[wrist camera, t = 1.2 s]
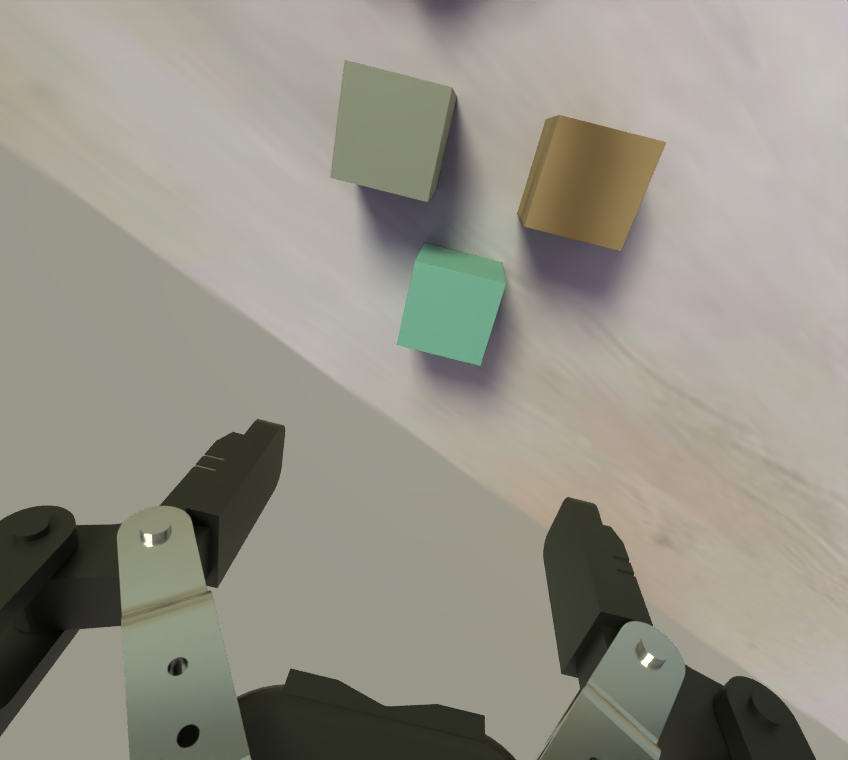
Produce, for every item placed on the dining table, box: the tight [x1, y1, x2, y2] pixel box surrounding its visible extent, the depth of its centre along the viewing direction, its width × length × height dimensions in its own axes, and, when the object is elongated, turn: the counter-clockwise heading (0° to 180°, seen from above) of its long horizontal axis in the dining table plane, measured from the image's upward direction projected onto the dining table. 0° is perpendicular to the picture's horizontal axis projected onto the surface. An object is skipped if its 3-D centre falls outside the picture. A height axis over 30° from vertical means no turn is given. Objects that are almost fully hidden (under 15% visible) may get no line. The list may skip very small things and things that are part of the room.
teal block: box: [397, 243, 506, 366], centre depth 28 cm, size 5×5×5 cm
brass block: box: [517, 115, 666, 251], centre depth 25 cm, size 5×5×5 cm
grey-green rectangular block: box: [331, 60, 457, 202], centre depth 25 cm, size 5×5×5 cm
